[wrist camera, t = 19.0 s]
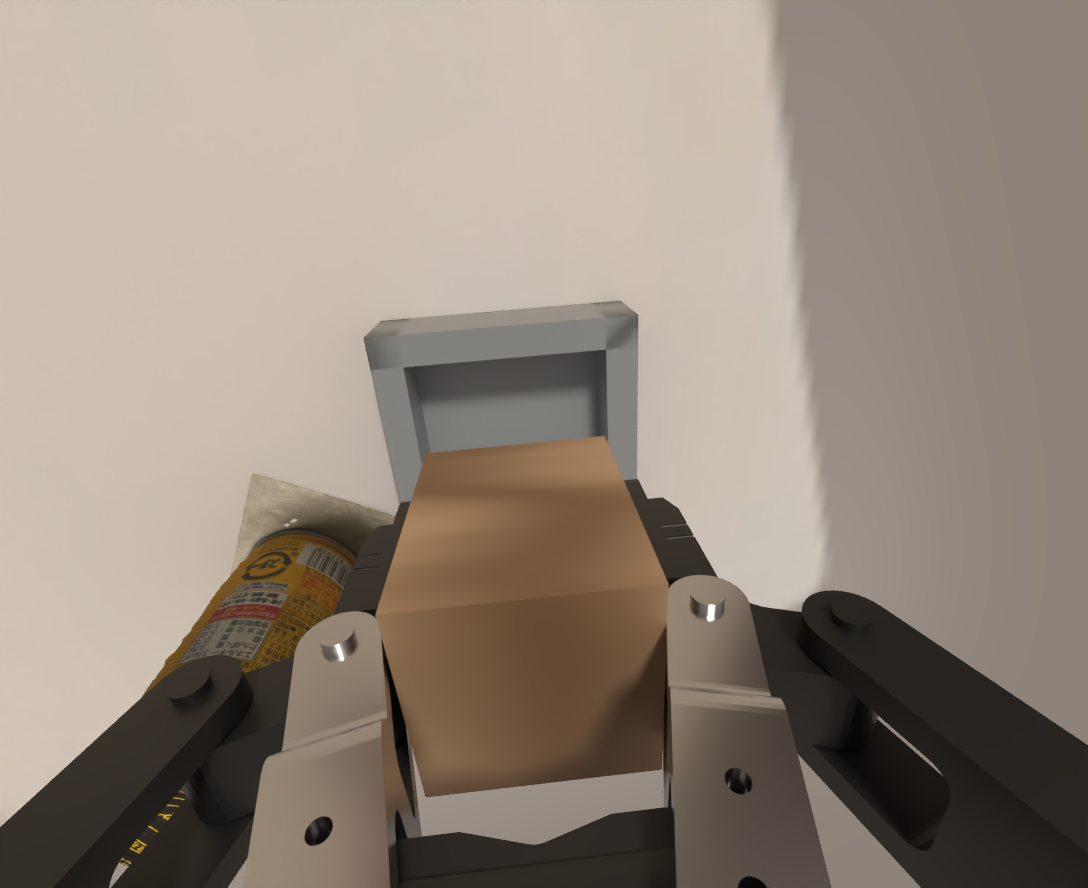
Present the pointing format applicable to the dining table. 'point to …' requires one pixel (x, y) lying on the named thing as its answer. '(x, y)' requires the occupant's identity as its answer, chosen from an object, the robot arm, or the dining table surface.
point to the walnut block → (526, 619)
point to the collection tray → (506, 382)
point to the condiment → (274, 586)
